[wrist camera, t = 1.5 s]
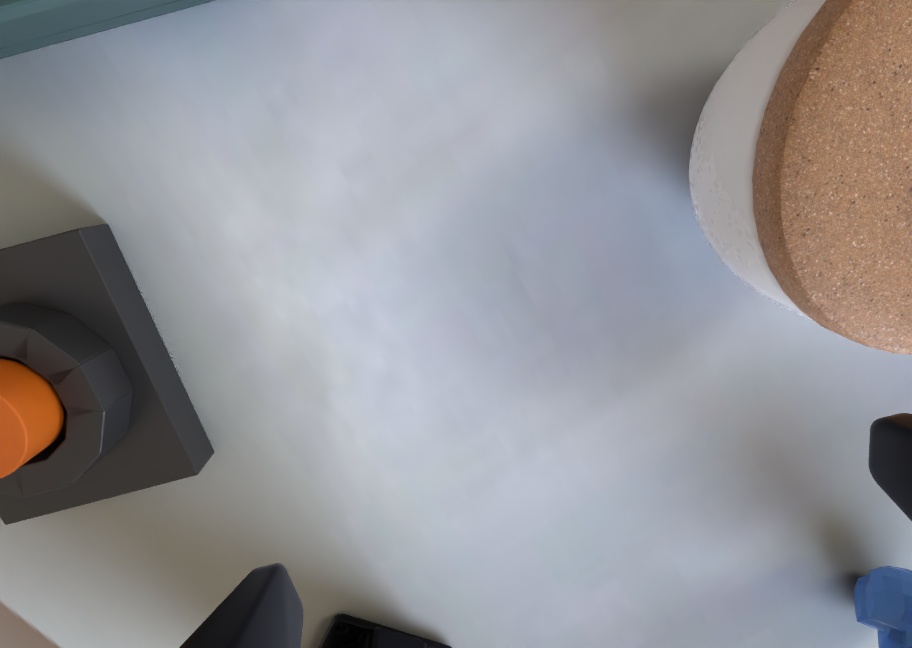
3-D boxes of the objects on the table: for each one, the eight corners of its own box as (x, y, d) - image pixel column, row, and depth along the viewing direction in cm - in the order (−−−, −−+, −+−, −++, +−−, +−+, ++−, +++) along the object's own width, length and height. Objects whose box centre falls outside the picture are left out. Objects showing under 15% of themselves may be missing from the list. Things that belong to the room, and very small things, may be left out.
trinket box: (686, 333, 21) (882, 452, 12) (599, 83, 18) (776, -4, 9) (929, 220, 20) (1327, 259, 11) (882, -62, 17) (1381, -311, 8)
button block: (215, 452, 21) (176, 504, 18) (36, 498, 21) (-35, 559, 18) (108, 223, 18) (38, 235, 15) (-100, 278, 18) (-215, 302, 15)
